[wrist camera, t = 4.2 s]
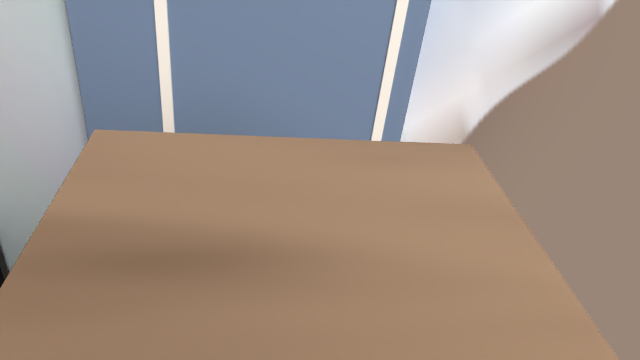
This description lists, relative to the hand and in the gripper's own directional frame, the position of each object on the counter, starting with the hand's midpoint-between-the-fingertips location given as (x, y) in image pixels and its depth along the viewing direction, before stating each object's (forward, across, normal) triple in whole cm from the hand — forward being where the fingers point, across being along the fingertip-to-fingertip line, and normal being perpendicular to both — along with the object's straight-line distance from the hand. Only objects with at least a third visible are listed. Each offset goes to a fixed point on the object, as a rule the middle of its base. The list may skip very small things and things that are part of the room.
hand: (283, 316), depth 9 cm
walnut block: (+1, 0, 0) cm, 1 cm away
